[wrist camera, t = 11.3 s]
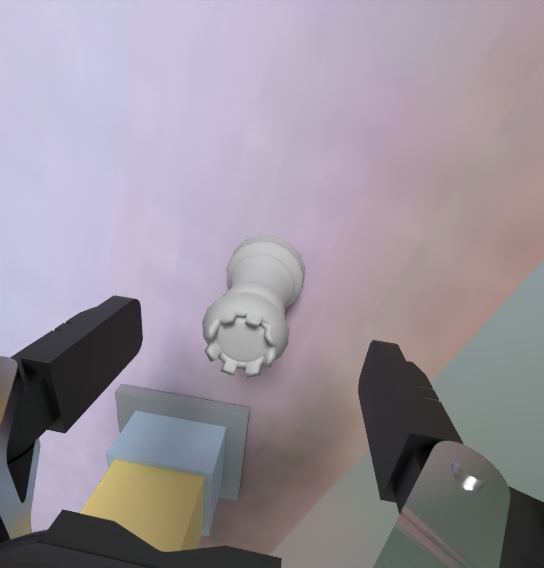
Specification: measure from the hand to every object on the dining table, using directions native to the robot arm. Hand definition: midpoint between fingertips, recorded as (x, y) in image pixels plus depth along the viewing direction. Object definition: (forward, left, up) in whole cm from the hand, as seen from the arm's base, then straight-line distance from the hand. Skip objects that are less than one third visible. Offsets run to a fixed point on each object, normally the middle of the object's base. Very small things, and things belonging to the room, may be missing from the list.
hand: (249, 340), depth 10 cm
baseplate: (-5, -16, -8) cm, 19 cm away
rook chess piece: (0, 0, -8) cm, 8 cm away
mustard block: (-5, -16, -3) cm, 17 cm away
